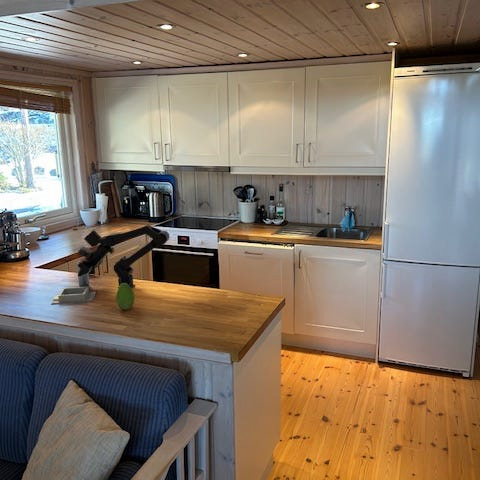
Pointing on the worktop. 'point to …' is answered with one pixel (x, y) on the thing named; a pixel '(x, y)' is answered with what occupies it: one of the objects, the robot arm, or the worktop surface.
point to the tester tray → (74, 295)
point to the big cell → (83, 279)
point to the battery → (91, 270)
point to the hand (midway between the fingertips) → (80, 274)
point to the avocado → (125, 296)
